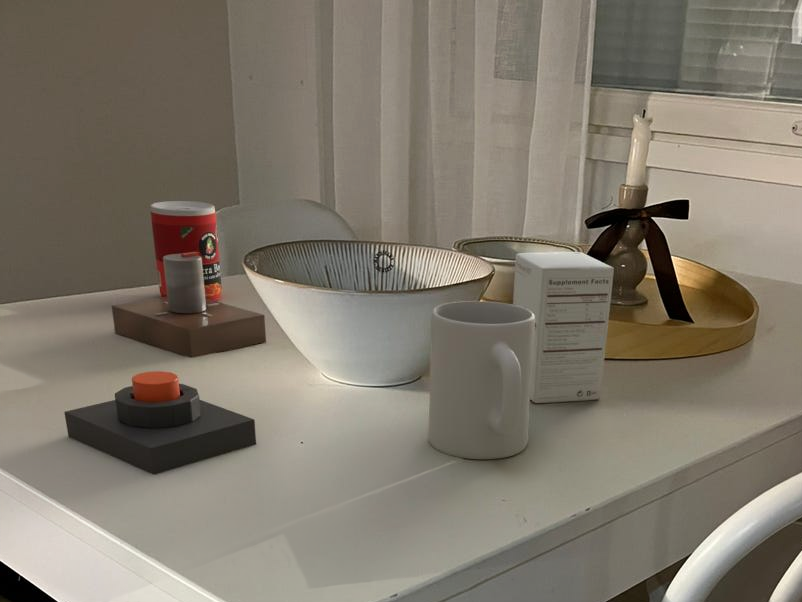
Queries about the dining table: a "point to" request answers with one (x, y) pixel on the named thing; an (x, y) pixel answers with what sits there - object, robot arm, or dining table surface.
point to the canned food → (187, 239)
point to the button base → (160, 430)
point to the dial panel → (189, 326)
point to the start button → (155, 386)
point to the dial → (185, 283)
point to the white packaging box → (565, 322)
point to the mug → (480, 378)
